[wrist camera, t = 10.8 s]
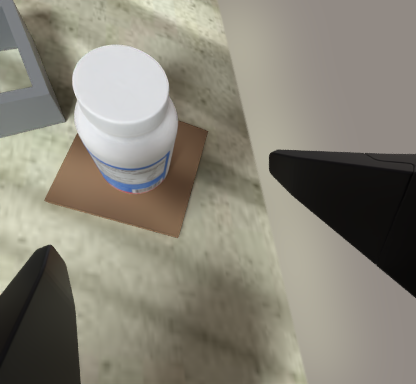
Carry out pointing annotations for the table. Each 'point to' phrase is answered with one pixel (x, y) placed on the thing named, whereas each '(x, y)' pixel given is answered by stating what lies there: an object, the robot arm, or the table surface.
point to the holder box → (41, 91)
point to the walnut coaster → (124, 202)
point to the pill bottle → (125, 116)
